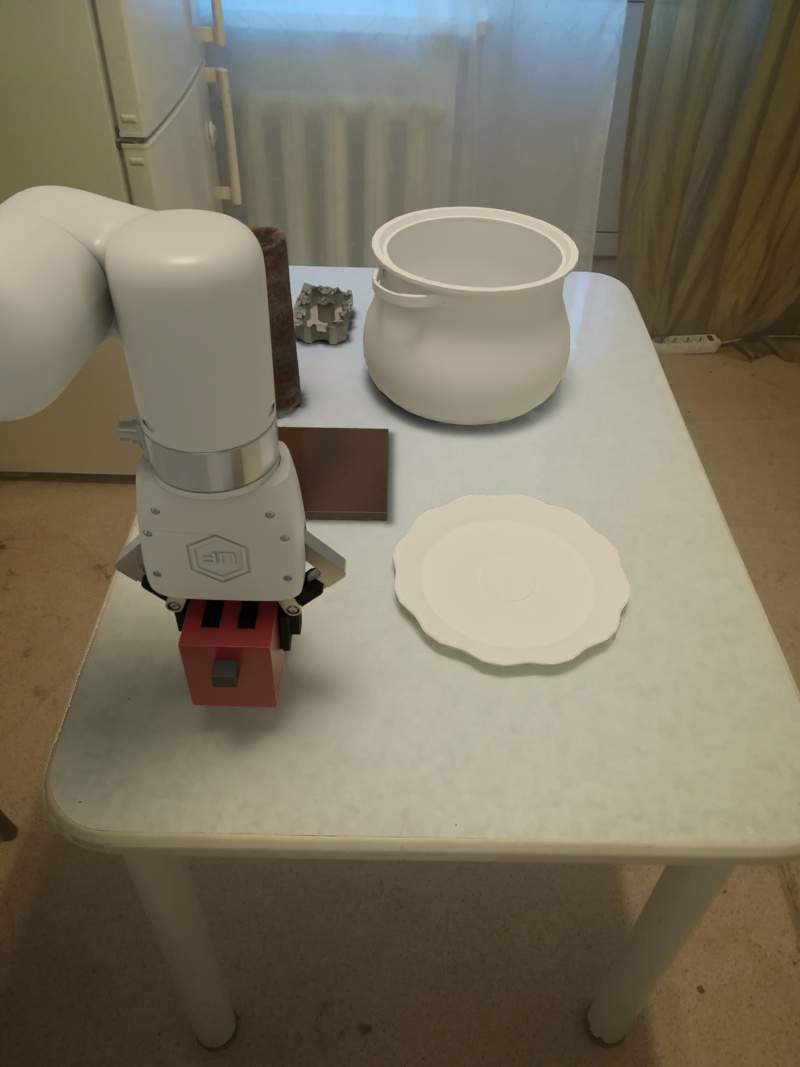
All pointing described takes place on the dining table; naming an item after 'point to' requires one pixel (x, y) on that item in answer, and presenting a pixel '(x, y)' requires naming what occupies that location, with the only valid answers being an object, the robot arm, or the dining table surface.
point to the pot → (468, 313)
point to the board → (340, 471)
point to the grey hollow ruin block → (322, 313)
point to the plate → (510, 579)
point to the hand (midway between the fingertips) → (242, 633)
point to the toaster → (232, 652)
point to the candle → (280, 316)
